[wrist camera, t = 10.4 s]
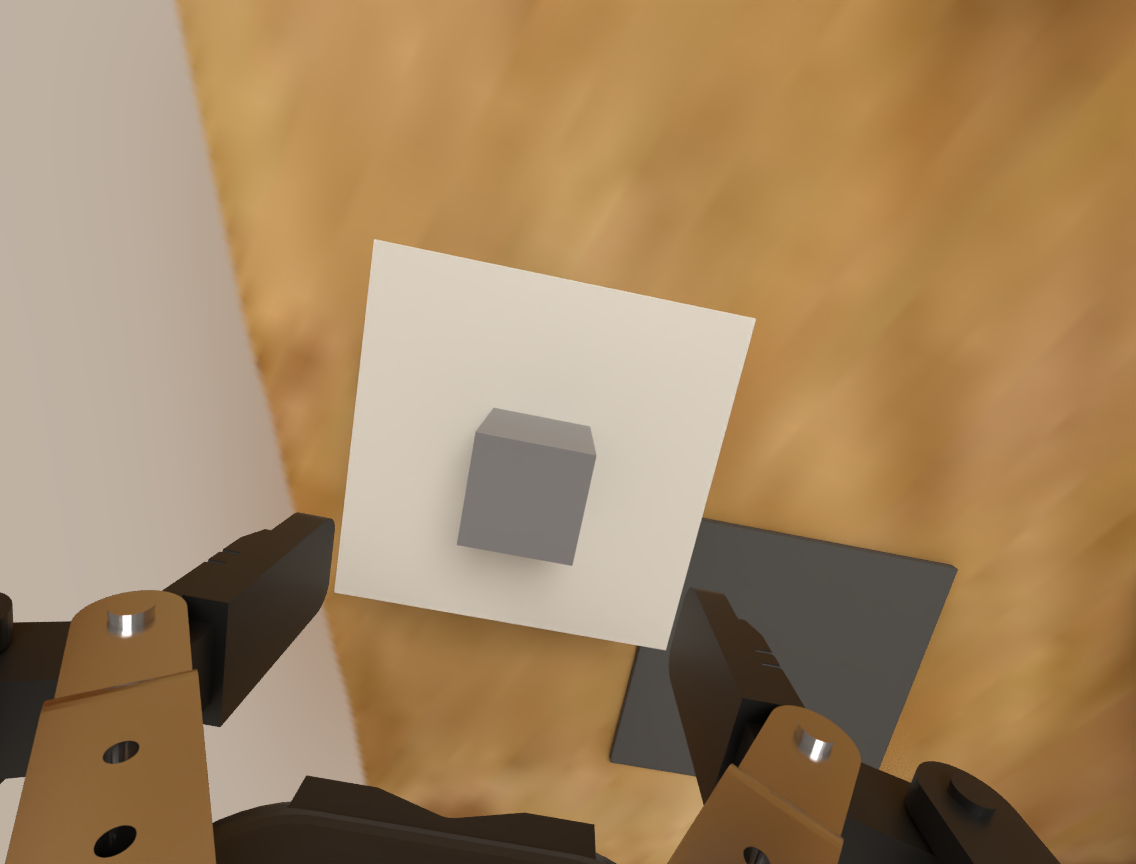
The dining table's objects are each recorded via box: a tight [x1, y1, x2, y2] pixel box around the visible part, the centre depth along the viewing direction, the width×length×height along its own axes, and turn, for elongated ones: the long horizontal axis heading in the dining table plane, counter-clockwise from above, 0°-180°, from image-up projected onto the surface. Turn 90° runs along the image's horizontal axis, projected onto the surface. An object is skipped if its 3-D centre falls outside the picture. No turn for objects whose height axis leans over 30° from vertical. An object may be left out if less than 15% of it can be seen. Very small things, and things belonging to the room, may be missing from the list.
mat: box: [610, 518, 958, 776], centre depth 31 cm, size 16×16×1 cm
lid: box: [334, 239, 756, 650], centre depth 20 cm, size 15×15×5 cm
